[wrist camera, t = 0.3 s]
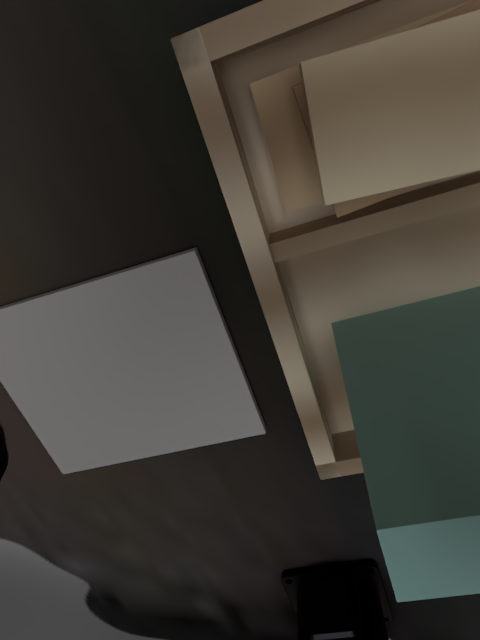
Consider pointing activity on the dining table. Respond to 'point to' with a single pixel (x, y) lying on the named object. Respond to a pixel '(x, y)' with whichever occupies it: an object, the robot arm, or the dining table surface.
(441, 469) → the teal square block
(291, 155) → the oak offcut
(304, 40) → the rack
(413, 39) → the pine offcut
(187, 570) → the dining table surface
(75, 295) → the grey mat
